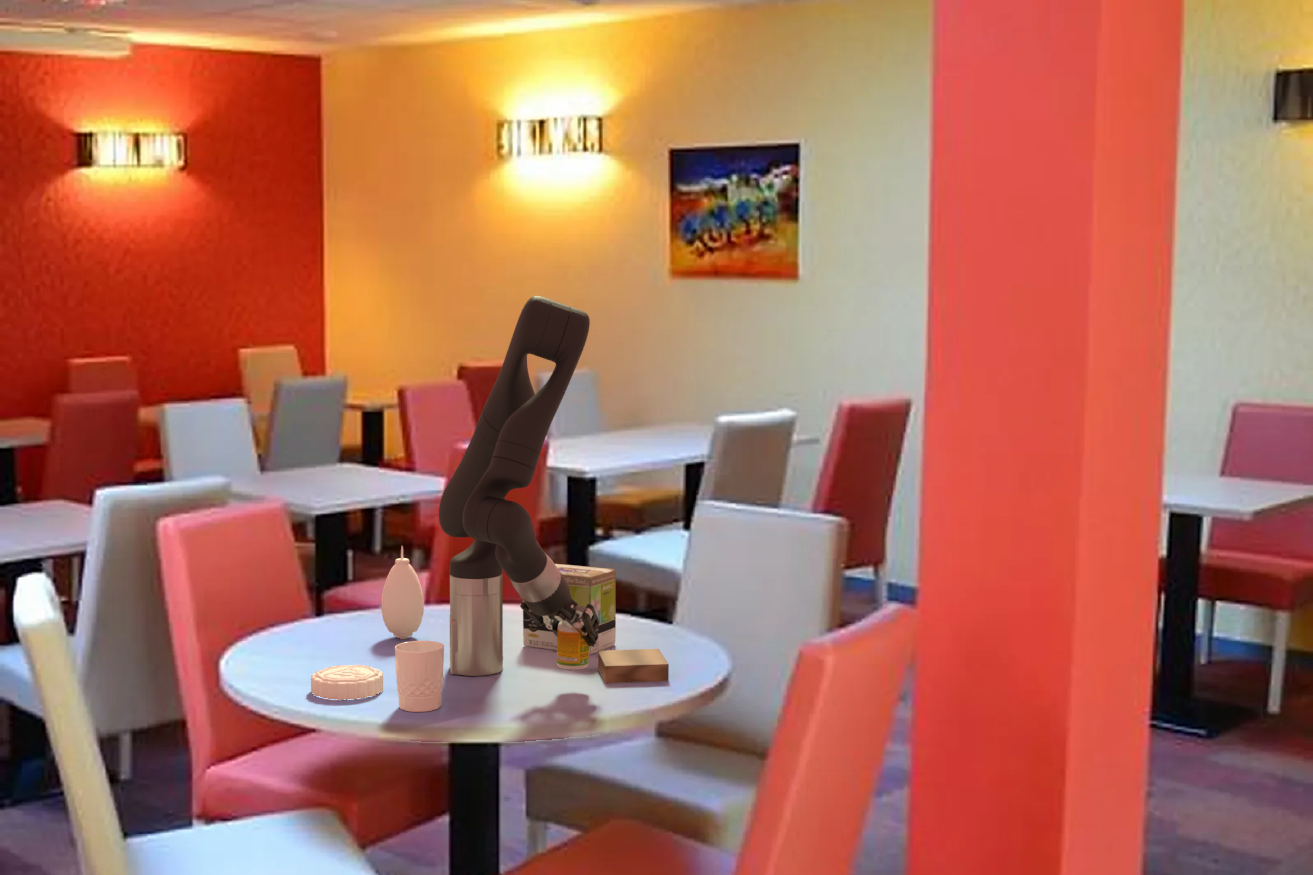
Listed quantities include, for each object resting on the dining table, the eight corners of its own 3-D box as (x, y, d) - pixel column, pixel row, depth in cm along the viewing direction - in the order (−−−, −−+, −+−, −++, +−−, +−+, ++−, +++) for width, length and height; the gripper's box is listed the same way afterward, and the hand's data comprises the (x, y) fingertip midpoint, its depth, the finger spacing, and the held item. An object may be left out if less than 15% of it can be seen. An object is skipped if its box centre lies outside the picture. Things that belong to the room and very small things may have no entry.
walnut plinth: (605, 683, 272) (605, 666, 271) (597, 667, 282) (597, 650, 282) (668, 681, 273) (668, 664, 273) (658, 665, 284) (658, 648, 284)
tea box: (617, 645, 299) (617, 568, 297) (590, 656, 290) (590, 577, 289) (549, 636, 306) (549, 560, 304) (521, 646, 297) (521, 569, 296)
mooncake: (346, 706, 257) (346, 684, 257) (295, 694, 264) (295, 673, 264) (398, 690, 267) (398, 669, 267) (348, 679, 274) (347, 659, 273)
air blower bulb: (374, 637, 304) (373, 544, 302) (408, 631, 309) (407, 540, 307) (396, 644, 298) (395, 550, 296) (431, 638, 303) (430, 545, 301)
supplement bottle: (584, 671, 264) (585, 614, 263) (552, 668, 265) (554, 611, 264) (592, 663, 269) (593, 607, 268) (561, 660, 270) (562, 604, 269)
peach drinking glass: (446, 700, 261) (446, 640, 259) (441, 713, 253) (441, 652, 252) (398, 700, 260) (398, 640, 259) (392, 713, 252) (391, 652, 251)
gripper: (584, 568, 255) (623, 627, 266) (513, 557, 262) (554, 615, 274) (565, 607, 251) (605, 664, 262) (493, 594, 258) (535, 651, 270)
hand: (579, 639), depth 268 cm, fingers closed on supplement bottle, 5 cm apart
